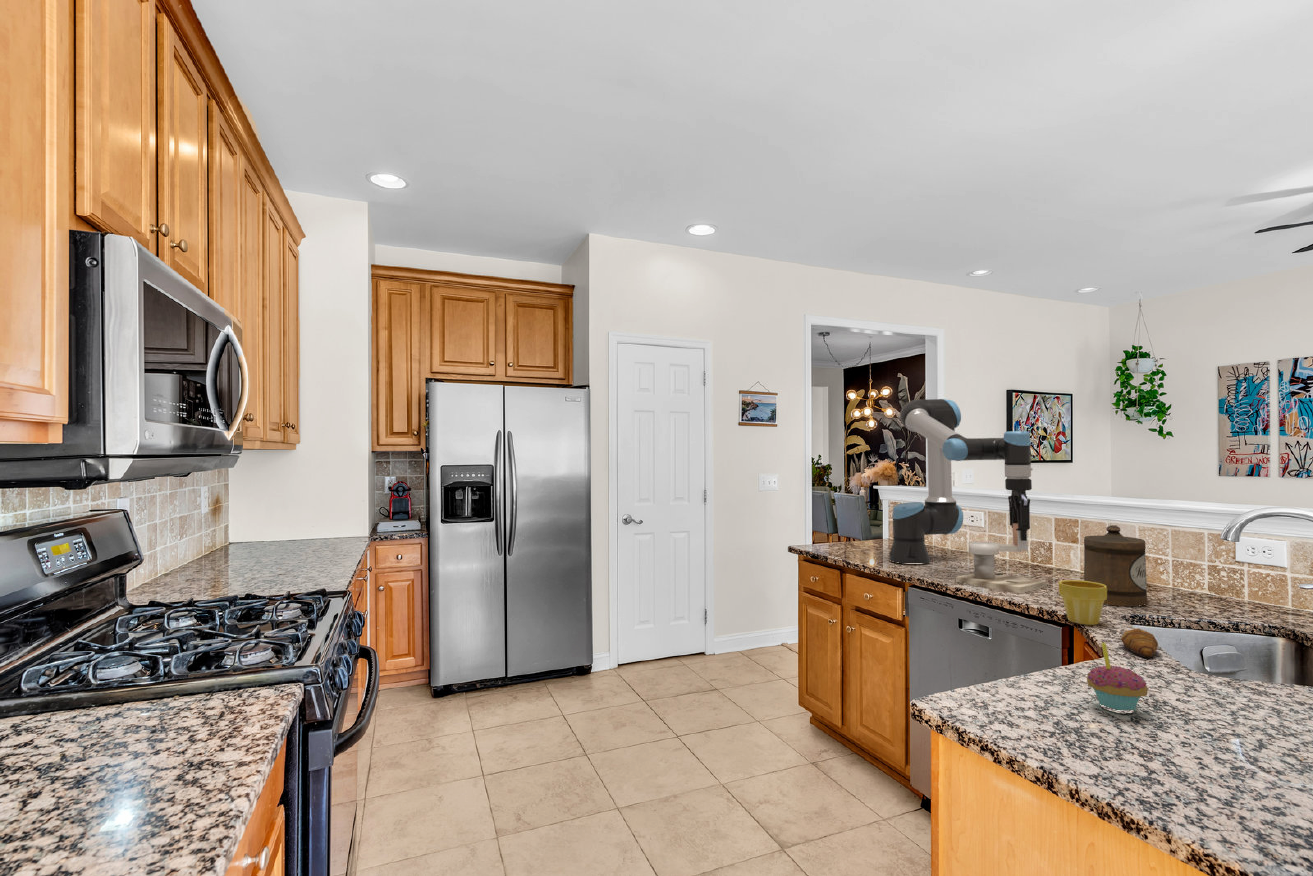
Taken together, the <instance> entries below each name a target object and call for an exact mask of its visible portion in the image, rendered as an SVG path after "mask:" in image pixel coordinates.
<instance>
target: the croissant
mask: <svg viewBox="0 0 1313 876" xmlns="http://www.w3.org/2000/svg"><path fill="white" fill-rule="evenodd" d="M1120 641H1121V642H1122V645H1124V647H1125V648H1126V649H1127V650H1129V651H1131V650H1132V651H1131V652H1133V653H1134V654H1136V655H1138V656H1139V655H1140V656H1141V657H1142V656H1143V658H1146V657H1147V658H1146V659H1148V658H1149V659H1150V658H1152V657H1154V655H1155V653H1156V652H1157V650H1158V646H1159V642H1158V641H1157V639H1156V637H1155V635H1154V634H1153V633H1151V632H1148V631H1146V630H1144V629H1141V628H1133V629H1129V630H1125V631H1124V632H1123V634H1122V635H1121V637H1120Z"/></svg>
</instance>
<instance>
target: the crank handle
mask: <svg viewBox="0 0 1313 876" xmlns="http://www.w3.org/2000/svg"><path fill="white" fill-rule="evenodd" d="M1012 529H1013V530H1012V544H1000V543H998V542H997V543H996V542H991V541H990V542H989V541H970V542H968V553H969V554H972V555H974V554H980V555H994V556H995V555H999V554H1000V552H1011V553H1012V552H1015V553H1016V552H1018V553H1019V552H1020V553H1021V552H1022V551H1018V538H1017V530H1016V529H1018V523H1013V528H1012Z"/></svg>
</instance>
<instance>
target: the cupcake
mask: <svg viewBox="0 0 1313 876" xmlns="http://www.w3.org/2000/svg"><path fill="white" fill-rule="evenodd" d="M1101 642H1102V643H1101V644H1100V645H1101V647H1102V648H1101V649H1102V655H1103V659H1104V662H1105V663H1104V664H1105V665H1103V666H1102V665H1101V666H1097V667H1095V668H1091V670H1090V671H1088V673H1087V676H1086V682H1087V685H1088V686H1089V687H1090V688H1092V689H1093V691H1094V693H1095V695H1096V697H1097V700H1098V703H1099V705H1100V704H1101V705H1104V706H1106V707H1109V708H1112V709H1115V710H1135V711H1136V708H1137V706H1138V704H1139V703H1138V702H1139V700H1140V699H1141V697H1145V696H1148V691H1149V690H1148V689H1149V688H1148V686H1147V684H1148V683H1147V682H1146V681H1145V679H1144V678H1143V677H1142V676H1140V675H1139V674H1137V673H1136V672H1135V671H1133V670H1131V669H1130V668H1125V667H1121V666H1115V665H1111V663H1110V659H1109V653H1108V648H1107V643H1105V642H1104V639H1103V638H1101Z"/></svg>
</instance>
